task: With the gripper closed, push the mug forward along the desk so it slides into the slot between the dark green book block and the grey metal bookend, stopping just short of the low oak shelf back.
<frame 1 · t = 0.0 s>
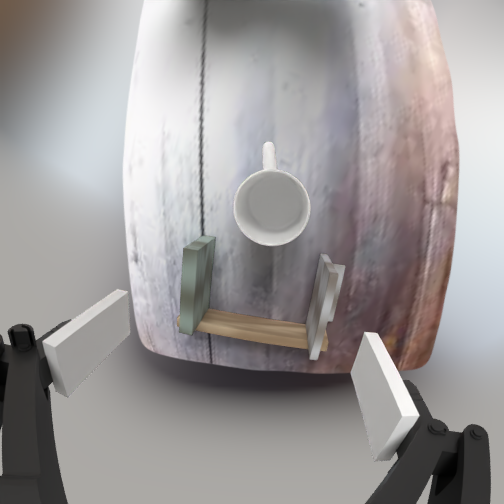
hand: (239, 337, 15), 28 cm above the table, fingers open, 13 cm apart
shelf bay: (261, 277, 43), on the table
mug: (274, 189, 41), on the table
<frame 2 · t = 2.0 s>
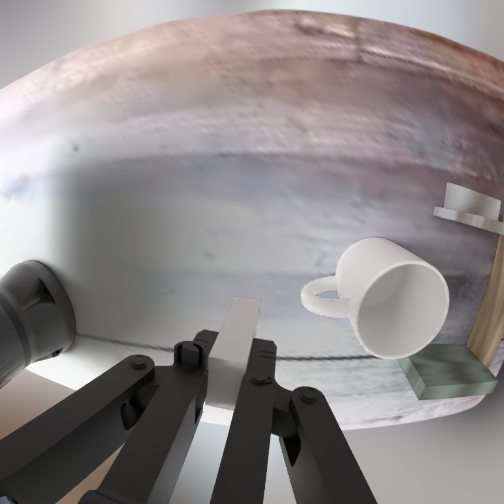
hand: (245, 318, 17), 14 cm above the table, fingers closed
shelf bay: (450, 288, 29), on the table
mug: (353, 274, 30), on the table
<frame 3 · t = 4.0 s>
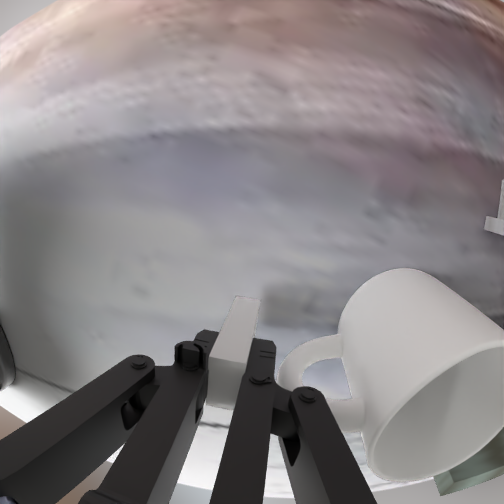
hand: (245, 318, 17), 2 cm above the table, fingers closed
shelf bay: (494, 333, 17), on the table
mug: (367, 324, 18), on the table, touching gripper
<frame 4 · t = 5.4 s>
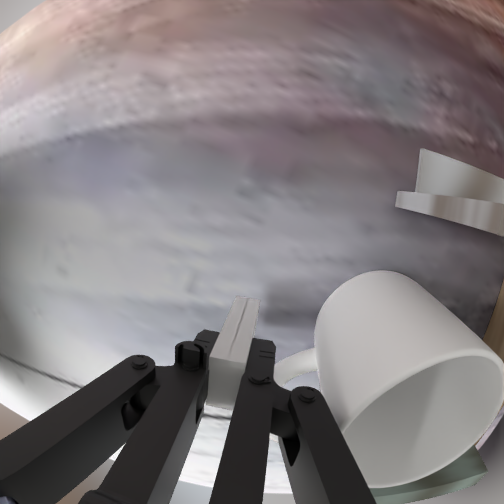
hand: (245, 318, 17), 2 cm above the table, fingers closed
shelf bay: (427, 329, 18), on the table
mug: (345, 331, 19), on the table, touching gripper, hand
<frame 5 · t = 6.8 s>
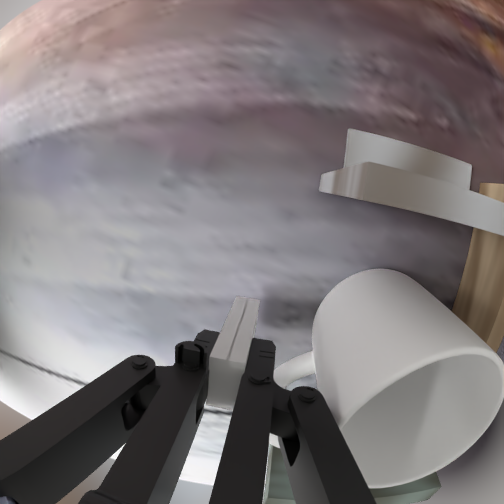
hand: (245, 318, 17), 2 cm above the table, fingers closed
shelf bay: (368, 324, 18), on the table
mug: (344, 331, 19), on the table, touching gripper, hand
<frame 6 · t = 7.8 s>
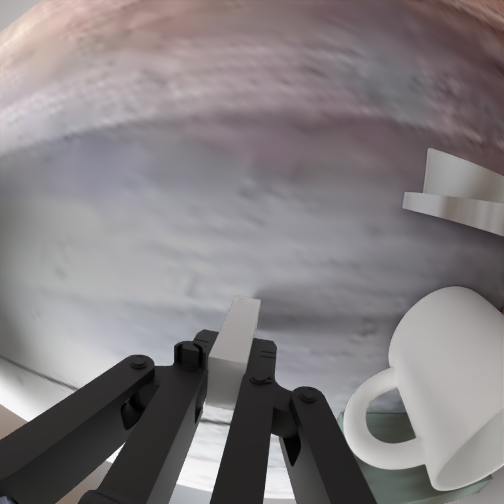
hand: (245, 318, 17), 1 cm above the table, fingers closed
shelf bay: (433, 334, 17), on the table
mug: (414, 344, 17), on the table
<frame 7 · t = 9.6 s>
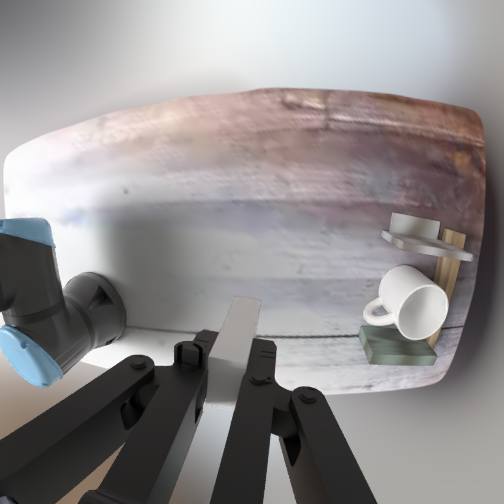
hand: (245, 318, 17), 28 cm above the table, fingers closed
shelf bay: (398, 287, 44), on the table
mug: (389, 291, 44), on the table
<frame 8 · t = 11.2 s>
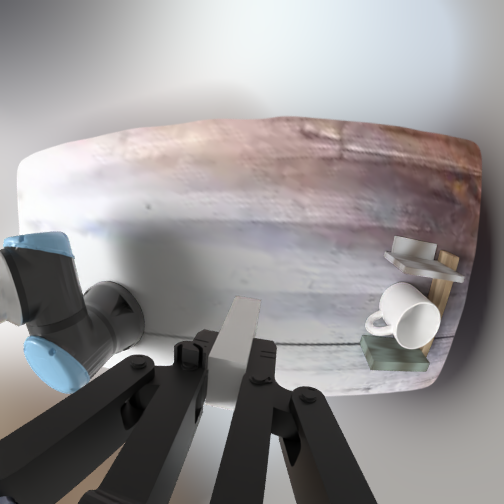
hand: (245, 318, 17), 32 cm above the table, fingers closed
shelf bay: (396, 302, 49), on the table
mug: (388, 304, 49), on the table
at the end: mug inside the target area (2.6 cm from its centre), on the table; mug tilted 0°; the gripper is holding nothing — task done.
